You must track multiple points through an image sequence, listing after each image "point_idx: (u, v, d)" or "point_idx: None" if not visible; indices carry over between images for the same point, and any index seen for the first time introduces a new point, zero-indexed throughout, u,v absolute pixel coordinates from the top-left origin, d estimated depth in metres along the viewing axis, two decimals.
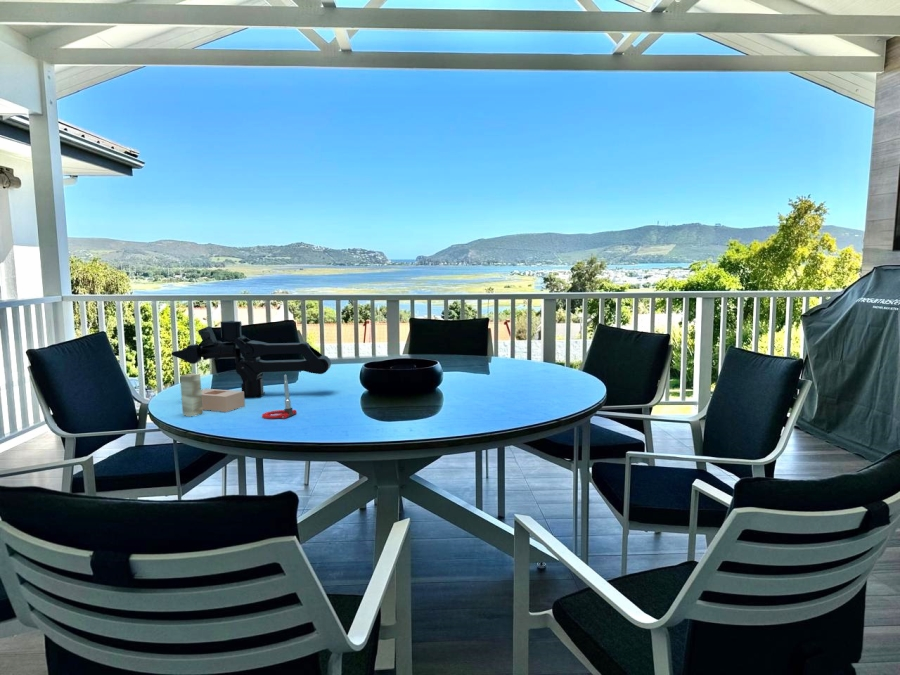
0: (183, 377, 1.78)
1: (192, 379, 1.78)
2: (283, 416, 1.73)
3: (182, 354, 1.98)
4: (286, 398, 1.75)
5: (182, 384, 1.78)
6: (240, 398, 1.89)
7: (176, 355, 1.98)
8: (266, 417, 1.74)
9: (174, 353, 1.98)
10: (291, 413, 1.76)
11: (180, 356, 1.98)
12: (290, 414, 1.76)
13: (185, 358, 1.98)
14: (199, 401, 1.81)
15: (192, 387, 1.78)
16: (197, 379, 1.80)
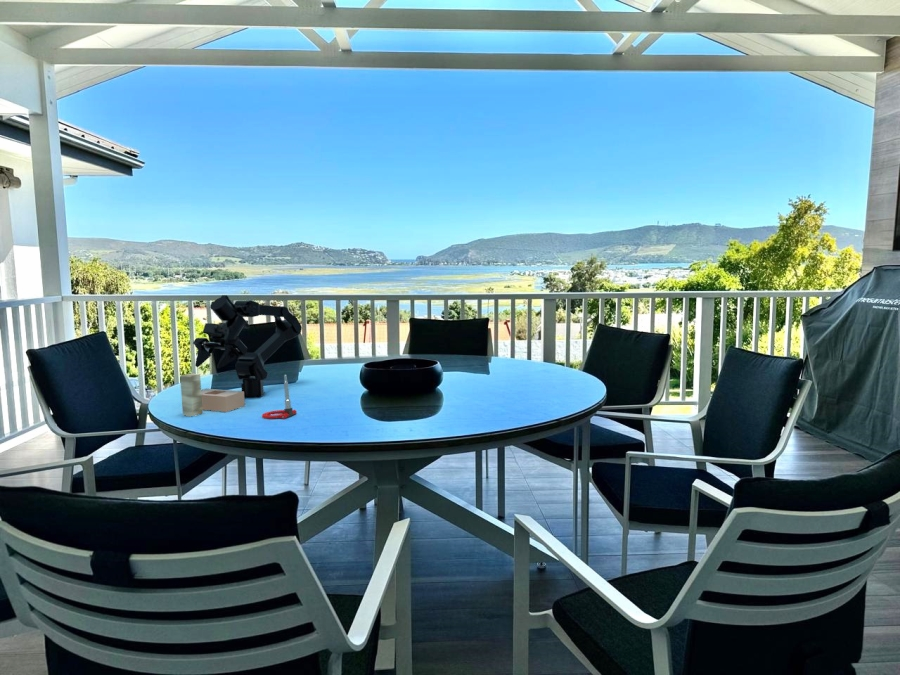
0: (183, 377, 1.78)
1: (192, 379, 1.78)
2: (283, 416, 1.73)
3: (227, 358, 1.87)
4: (286, 398, 1.75)
5: (182, 384, 1.78)
6: (240, 398, 1.89)
7: (223, 364, 1.86)
8: (266, 417, 1.74)
9: (220, 365, 1.85)
10: (291, 413, 1.76)
11: (227, 361, 1.87)
12: (290, 414, 1.76)
13: (232, 358, 1.88)
14: (199, 401, 1.81)
15: (192, 387, 1.78)
16: (197, 379, 1.80)
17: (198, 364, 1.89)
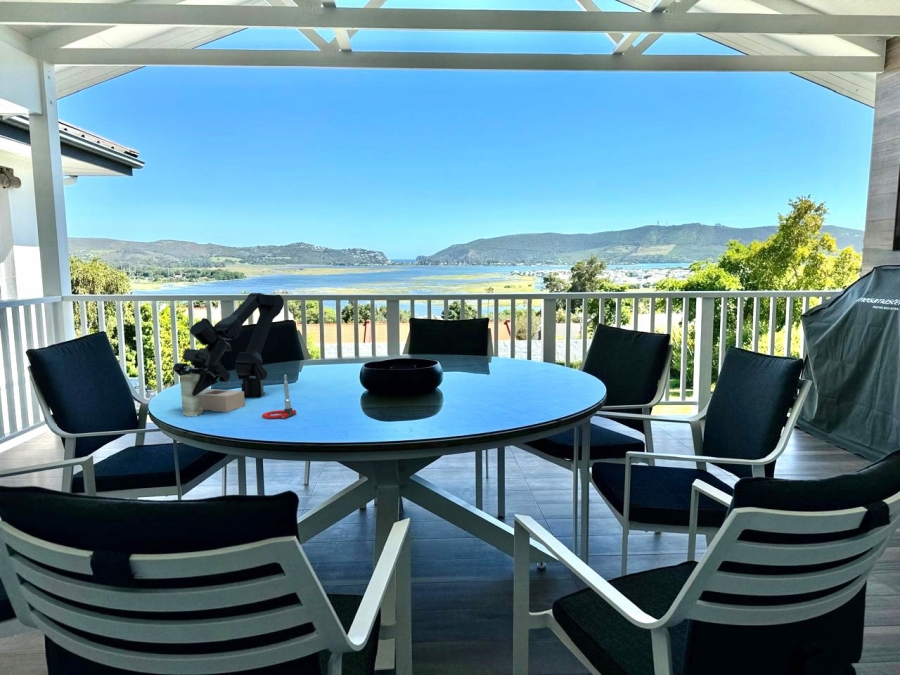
0: (183, 377, 1.78)
1: (192, 379, 1.78)
2: (283, 416, 1.73)
3: (203, 384, 1.80)
4: (286, 398, 1.75)
5: (182, 384, 1.78)
6: (240, 398, 1.89)
7: (199, 391, 1.79)
8: (266, 417, 1.74)
9: (195, 392, 1.78)
10: (291, 413, 1.76)
11: (203, 387, 1.80)
12: (290, 414, 1.76)
13: (208, 384, 1.81)
14: (199, 401, 1.81)
15: (192, 387, 1.78)
16: (197, 379, 1.80)
17: None
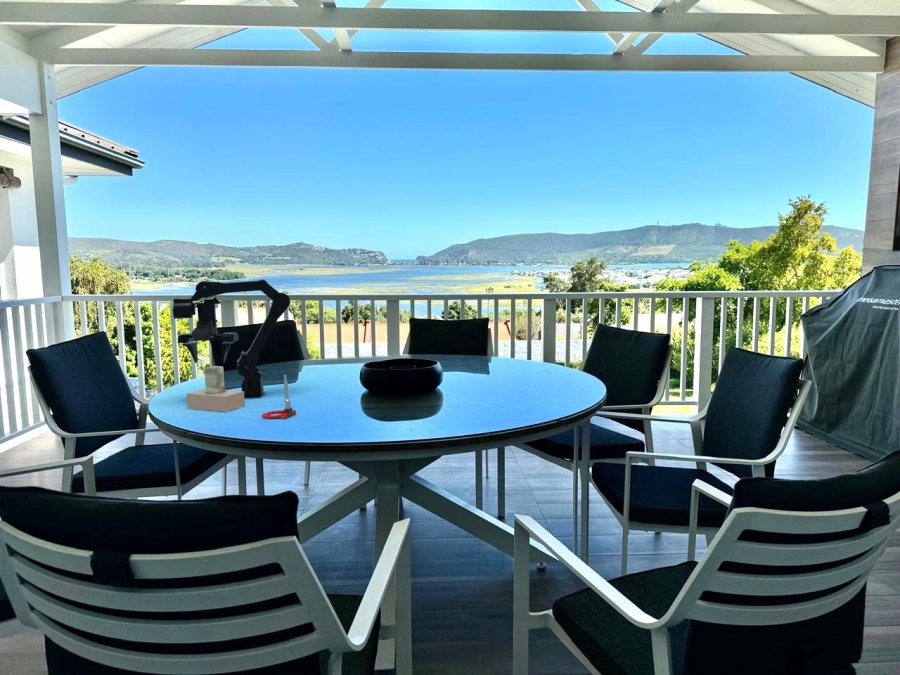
0: (207, 369, 1.87)
1: (216, 371, 1.87)
2: (283, 416, 1.73)
3: (226, 350, 2.00)
4: (286, 398, 1.75)
5: (206, 376, 1.87)
6: (240, 398, 1.89)
7: (225, 356, 2.01)
8: (266, 417, 1.74)
9: (224, 359, 2.00)
10: (291, 413, 1.76)
11: (227, 352, 2.01)
12: (290, 414, 1.76)
13: (229, 347, 2.02)
14: (222, 392, 1.90)
15: (216, 378, 1.87)
16: (220, 371, 1.89)
17: (196, 360, 2.00)
